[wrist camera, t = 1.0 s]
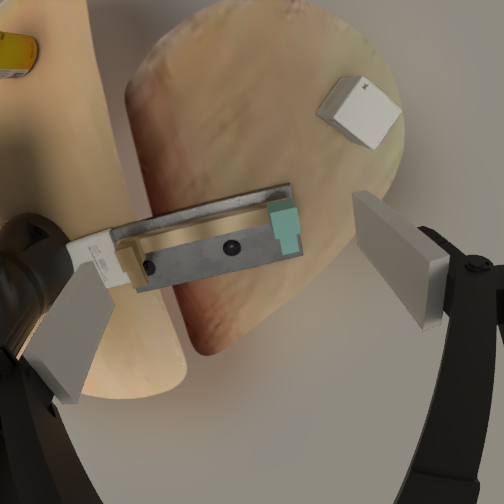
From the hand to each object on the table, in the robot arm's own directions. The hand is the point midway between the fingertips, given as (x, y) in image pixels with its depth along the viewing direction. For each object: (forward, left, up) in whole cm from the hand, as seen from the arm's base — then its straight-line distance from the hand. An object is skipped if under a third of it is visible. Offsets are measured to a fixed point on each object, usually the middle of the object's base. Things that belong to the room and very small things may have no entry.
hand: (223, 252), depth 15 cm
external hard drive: (-23, -9, -26) cm, 36 cm away
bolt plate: (-5, -10, -26) cm, 29 cm away
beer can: (-23, +23, -26) cm, 42 cm away
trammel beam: (-5, -9, -25) cm, 27 cm away
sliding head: (+5, -9, -25) cm, 27 cm away
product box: (+16, +3, -27) cm, 31 cm away
